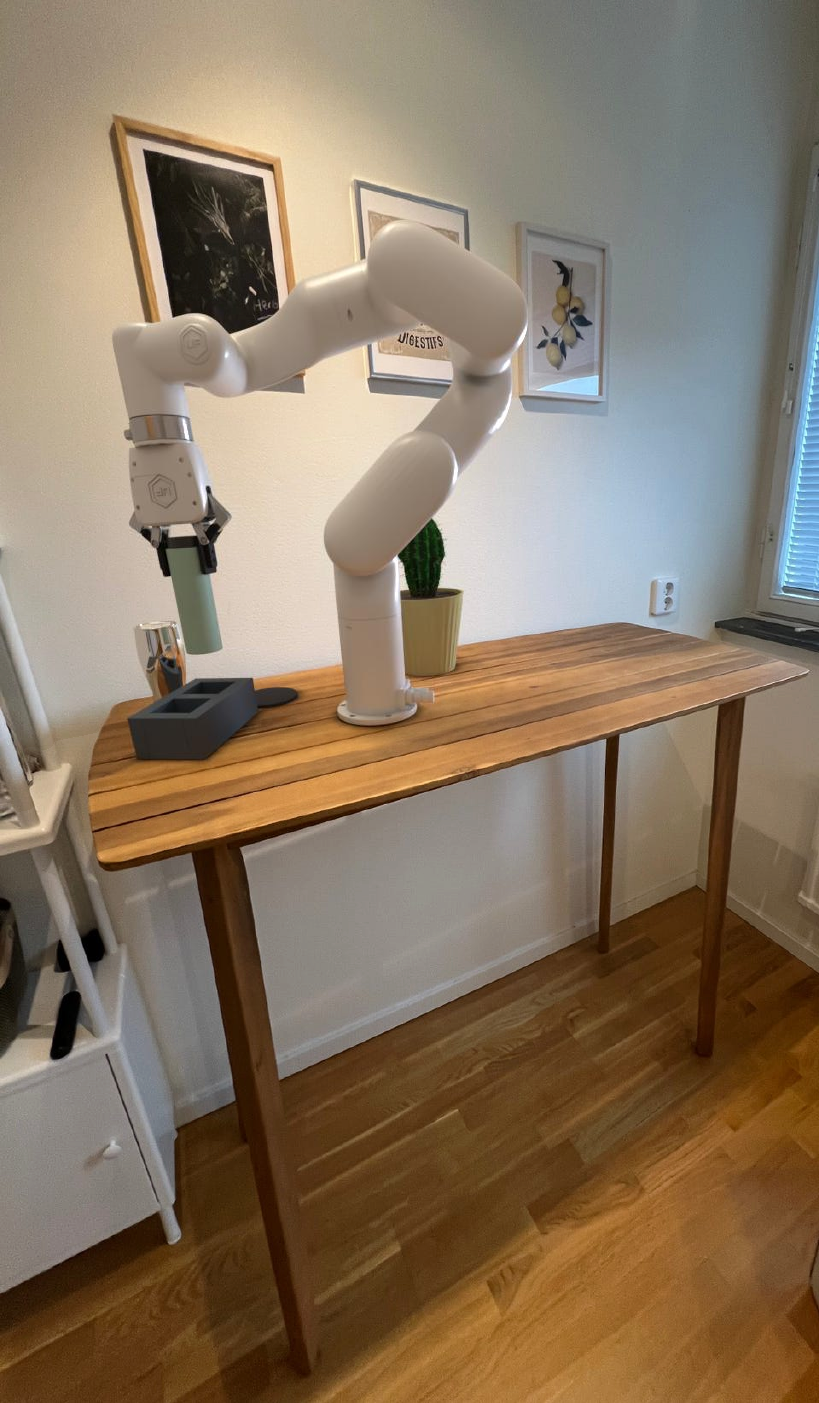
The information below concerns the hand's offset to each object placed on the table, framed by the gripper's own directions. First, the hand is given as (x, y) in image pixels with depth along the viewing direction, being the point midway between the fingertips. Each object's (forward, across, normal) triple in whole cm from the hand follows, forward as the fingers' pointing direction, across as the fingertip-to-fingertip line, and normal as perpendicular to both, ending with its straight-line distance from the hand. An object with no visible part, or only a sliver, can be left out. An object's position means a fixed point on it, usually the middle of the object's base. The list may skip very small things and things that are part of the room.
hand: (190, 573), depth 79 cm
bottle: (+11, 0, 0) cm, 11 cm away
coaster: (+23, +3, +12) cm, 26 cm away
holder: (+23, -1, -4) cm, 24 cm away
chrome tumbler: (+23, -11, +5) cm, 26 cm away
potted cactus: (+24, +30, +30) cm, 48 cm away
